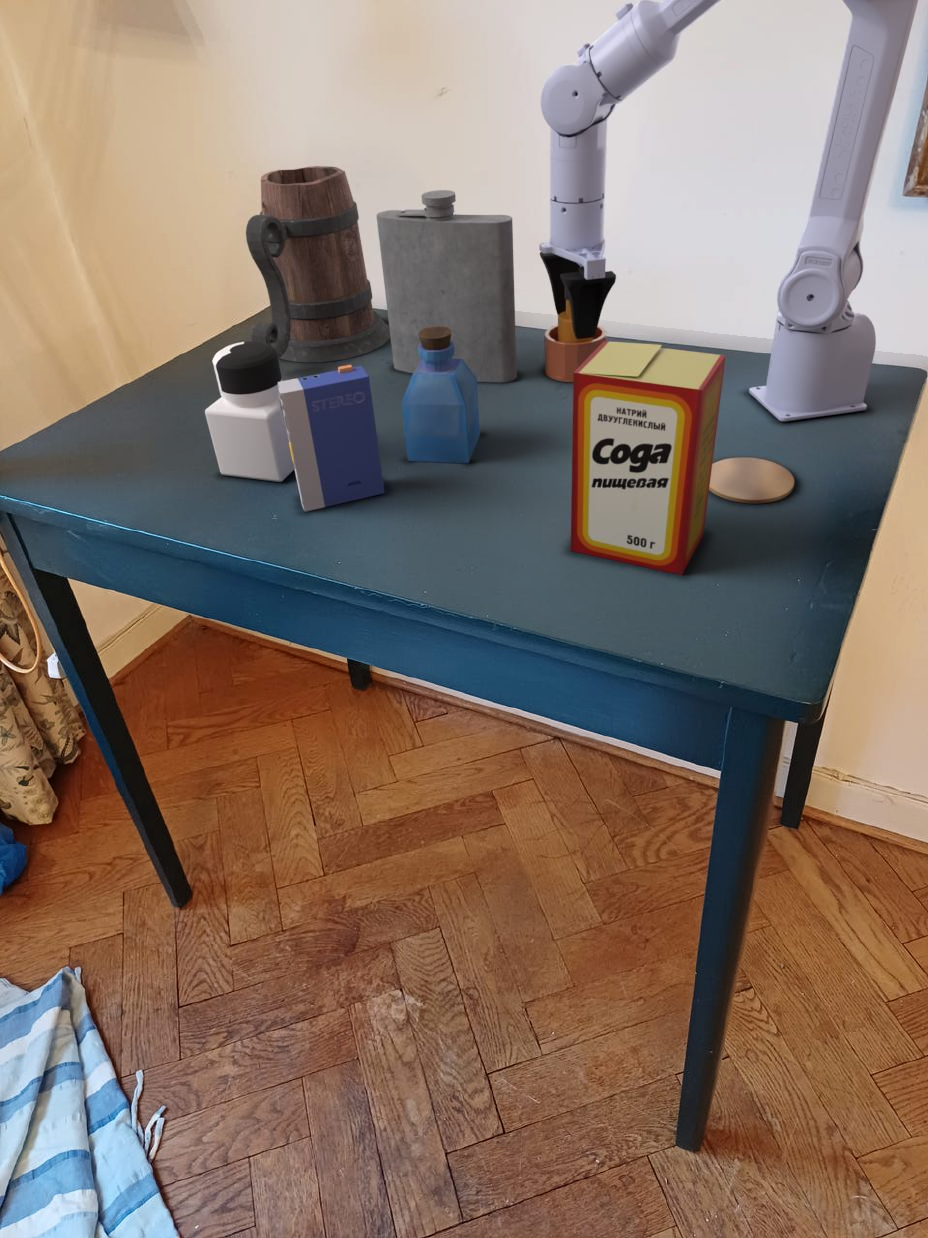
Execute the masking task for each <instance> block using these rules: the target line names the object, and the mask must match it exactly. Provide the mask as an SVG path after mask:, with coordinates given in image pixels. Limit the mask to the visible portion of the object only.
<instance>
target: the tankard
mask: <svg viewBox="0 0 928 1238" xmlns="http://www.w3.org/2000/svg"><path fill="white" fill-rule="evenodd" d="M260 203H261V204H260V205H261V206H260V207H261V209H260V210H261V211H260V213H259V214H255V215H253V216H251V217H250V218H249V220H247V224H246V227H245V239H246V240H245V241H246V244H247V247H248V251H249V253H250V256H251V258H252V260H253V261H254V263H255V265H256V267H257V269H258V270H259V272H260V274H261V276H262V278H263V280H264V283H265V287H266V289H267V293H268V294H267V295H268V299H269V305H270V306H269V307H270V315H271V322H261V321H258V322H257V323H255V324H254V325H253V326H252V328H251V332H250V340H251V341H254V342H261V343H265V344H269V345H271V346H272V347H273V348H274V349H275V350H276V351H277V356H278V359H281V360H283V361H284V360H285V361H290V362H295V363H297V362H298V363H325V362H334V361H335V362H336V361H341V360H347V359H350V358H355V357H359V356H362V355H365V354H367V353H370V352H372V351H375V350H377V349H379V348H380V347H382V346H383V345H385V344H386V343H387V342H388V341H389V340H391V337H390V328H389V324H387V322H385V321H384V320H383V318H382V316H381V315H380V314H379V313H378V312H377V311H375V310H374V307H373V303H372V300H373V292H372V291H373V290H372V285H371V281H370V280H369V279H368V275H367V269H366V263H365V257H364V252H363V246H362V245H363V244H362V239H361V234H360V233H361V232H360V228H359V218H360V216H359V210H358V203H357V202H356V201H354V197H353V193H352V191H351V188H350V183H349V181H348V177H347V174H346V171H345V170H344V169H341V168H339V167H337V166H325V165H324V166H321V165H320V166H319V165H313V166H312V165H311V166H305V167H300V168H299V167H298V168H295V169H276V170H271V171H269V172H266V173H264V174H263V175H262V176H261V177H260Z"/></svg>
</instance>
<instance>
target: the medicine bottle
mask: <svg viewBox="0 0 928 1238" xmlns="http://www.w3.org/2000/svg"><path fill="white" fill-rule="evenodd" d="M212 365H213V369H214V373H215V377H216V382H217V385H218V390H219V394H220V396H221V397H219V398H218V399H217V400H215V401H214V402H213V403H212V404H210V405H208V407H207V408H206V409H204V415H205V419H206V422H207V426H208V430H209V433H210V437H211V441H212V446H213V450H214V452H215V457H216V461H217V464H218V469H219V472H220V474H221V475H222V476H227V477H235V478H244V479H251V480H260V481H267V482H268V481H269V482H275V483H282V482H284V481H285V479H286V478H288V476H289V475H291V473H293V472H294V471H295V469H294V464H293V459H292V455H291V450H290V446H289V439H288V434H287V429H286V427H284V424H283V419H282V414H281V409H280V405H279V400H278V399H280V396H279V390H278V388H279V386H278V382H281V381H283V376H282V371H281V367H280V362H279V358H278V356H277V351H276V350H275V349H274V348H273V347H272V346H271V345H269V344H265V343H261V342H254V341H241V342H237V343H236V342H235V343H232V344H229V345H227V346H225V347H224V348H222V349H220V350H219V351H217V352H216V353H215V354H214V356H213V358H212Z"/></svg>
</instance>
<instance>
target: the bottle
mask: <svg viewBox="0 0 928 1238" xmlns="http://www.w3.org/2000/svg"><path fill="white" fill-rule="evenodd" d="M565 299H566V311H564V312H562V313H560V314H559V315H557V325H558V341H560V342H566V343H581V342H588V341H591V340H593V337H592V338H584V339H576V337H575V335H574V331H573V325H572V316H571V307H570V302H569V298H568V294H567V291H566V289H565Z"/></svg>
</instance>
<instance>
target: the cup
mask: <svg viewBox="0 0 928 1238" xmlns="http://www.w3.org/2000/svg"><path fill="white" fill-rule="evenodd" d="M607 333H608V332H607V330H606V329H605V327H603V326H601V325H599V324H598V326H597V330H596V333H595V336H594V337H593V340H591V341H588V342H581V343H566V342H560V341H558V324H556V325H552V326H551V327H549V328H548V329H546V330H545V332H544V335H543V337H544V338H543V340H544V343H543V345H544V348H543V349H544V351H543V352H544V353H543V355H544V359H543V360H544V373H545V375H546V376H547V377H548V378H550V379H552V380H554V381H558V382H564V383H573V373H574V372H575V371H576V370H577V369H578V367H579V366H580V365H581V364H582V363H583V362H584V361H585V360H586V359H587V358H588V357H589V356H590V355H591V354H592V353H593V352H594V351H595V350H596V349H597V348H598V347H599V346H600V345H601V344H602V343H603V342H604V341H607Z"/></svg>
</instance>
